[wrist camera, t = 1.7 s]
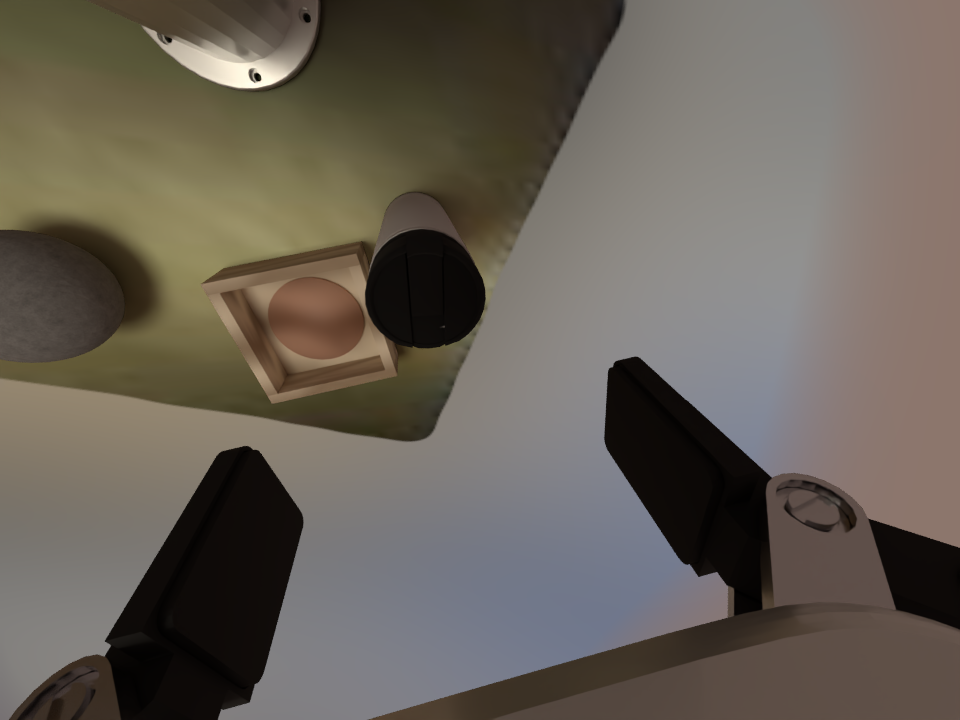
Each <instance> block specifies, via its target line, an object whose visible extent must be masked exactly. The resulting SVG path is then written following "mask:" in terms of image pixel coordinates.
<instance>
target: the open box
mask: <svg viewBox="0 0 960 720" xmlns="http://www.w3.org/2000/svg"><path fill="white" fill-rule="evenodd" d="M369 269H370V266H369V263H368V259H367V256H366V253H365V250H364V247H363V244H362V241H361V242H356V243H351V244H346V245H341V246H336V247H331V248H326V249H320V250H315V251H310V252H305V253H300V254H295V255H290V256H285V257H279V258H274V259H269V260H264V261H259V262H254V263H249V264H243V265H238V266H233V267H228V268H223V269H222V270H221V271H219V272H218V273H216V274H215V275H213V276H212V277H210V278H209V279H208V280H206V281H205V282H203V283H202V284H201V286H202V288H203V289H204V291H205V293H206V294H207V296H208V298H209V299H210V301H211V303H212V304H213V306H214V308H215V309H216V311H217V313H218V314H219V316H220V318H221V319H222V321H223V323H224V324H225V326H226V328H227V329H228V331H229V333H230V334H231V336H232V338H233V339H234V341H235V343H236V344H237V346H238V348H239V349H240V351H241V353H242V354H243V356H244V358H245V359H246V361H247V362H248V364H249V366H250V367H251V369H252V371H253V372H254V374H255V376H256V377H257V379H258V381H259V382H260V384H261V386H262V387H263V389H264V391H265V392H266V394H267V396H268V397H269V399H270V401H271V402H272V404H273V403H278V402H282V401H287V400H291V399H296V398H300V397H305V396H309V395H314V394H318V393H323V392H327V391H331V390H336V389H340V388H345V387H349V386H354V385H358V384H363V383H367V382H372V381H376V380H381V379H385V378H390V377H394V376H397V372H398V353H397V350H396V347H395V343H394V342H393V341H391V340H389V339H388V338H387V337H385V336H384V335H383V334H382V333H381V332H380V331H379V330H378V329H377V328H376V327H375V325H374V324H373V322H372V321H371V319H370V317H369V315H368V312H367V308H366V305H365V289H366V283H367V279H368V275H369Z"/></svg>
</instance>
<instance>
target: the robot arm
mask: <svg viewBox="0 0 960 720" xmlns="http://www.w3.org/2000/svg"><path fill="white" fill-rule="evenodd" d="M86 1H89V2H91V3H93V4H95V5H98V6H100V7H102V8H104V9H107V10H109V11H111V12H113V13H115V14H118V15H120V16H122V17H124V18H127V19H129V20H131V21H133V22H136V23H138V24H140V25H141V27H142V28H143V29H144V31H145V32H146V33H147V34H148V35H149V36H150V37H151V38H152V39H153V40H154V41H155V42H156V43H157V44H158V46H159V47H160V48H161V49H162V50H163V51H165V52H166V53H167V54H168V55H169V56H171V57H172V58H173V59H174V60H176V61H177V62H178V63H179V64H180V65H182V66H183V67H185V68H186V69H188V70H190V71H191V72H193V73H195V74H196V75H198V76H200V77H201V78H203V79H206V80H208V81H211V82H213V83H215V84H218V85H220V86H223V87H227V88H231V89H234V90H242V91H250V92H254V91H264V90H270V89H272V88H275V87H278V86H281V85H283V84H285V83H286V82H287V81H289V80H290V79H292V78H293V77H295V76H296V75H297V74H298V72H299V71H300V70H301V69H302V68H303V67H304V66H305V64H306V63H307V61H308V59H309V57H310V55H311V53H312V51H313V49H314V46H315V43H316V39H317V36H318V32H319V25H320V14H321V3H320V0H86ZM305 15H309V16H310V17H311V21H310V22H309V23H306V22H305V20H304V17H305ZM168 37H169V38H172V43H170V42H169V41H168ZM258 73H259V74H260V75H261V77H262V79H261V81H260V82H259V81H257V79H256V74H258ZM604 440H605V444H606V447H607V450H608V451H609V453H610V455H611V456H612V458H613V459H614V460H615V462H616V463H617V465H618V467H619V468H620V470H621V471H622V473H623V474H624V476H625V477H626V479H627V480H628V482H629V483H630V485H631V486H632V488H633V489H634V491H635V492H636V494H637V495H638V497H639V499H640V500H641V502H642V503H643V505H644V506H645V508H646V509H647V510H648V512H649V514H650V515H651V517H652V518H653V520H654V521H655V523H656V524H657V526H658V527H659V529H660V530H661V532H662V533H663V535H664V536H665V538H666V539H667V541H668V543H669V544H670V546H671V547H672V549H673V550H674V552H675V553H676V555H677V556H678V558H679V559H680V560H681V561H682V562H683V563H684V564H687V565H688V564H690V565H691V566H692V568H693V569H694V571H695V572H696V574H697V575H698V577H700V576H703V575H707V574H711V573H714V572H718V574H719V575H720V577H721V578H722V579H723V581H724V582H725V583H726V585H728V618H725V619H722V620H718V621H714V622H710V623H706V624H702V625H699V626H695V627H691V628H687V629H683V630H679V631H676V632H672V633H668V634H665V635H661V636H657V637H654V638H651V639H647V640H643V641H640V642H637V643H633V644H629V645H626V646H622V647H619V648H616V649H612V650H608V651H605V652H601V653H597V654H594V655H590V656H587V657H583V658H580V659H577V660H573V661H569V662H566V663H562V664H559V665H555V666H552V667H549V668H545V669H541V670H538V671H534V672H531V673H528V674H524V675H521V676H517V677H514V678H510V679H507V680H503V681H500V682H496V683H493V684H489V685H486V686H482V687H479V688H476V689H472V690H469V691H465V692H462V693H458V694H455V695H451V696H448V697H444V698H441V699H438V700H434V701H431V702H427V703H424V704H420V705H417V706H413V707H410V708H407V709H403V710H400V711H396V712H393V713H390V714H386V715H383V716H379V717H376V718H373V719H369V720H960V548H958V547H955V546H952V545H949V544H946V543H943V542H940V541H936V540H933V539H930V538H927V537H924V536H921V535H918V534H915V533H912V532H908V531H905V530H902V529H899V528H896V527H893V526H890V525H887V524H883V523H880V522H877V521H874V520H871V519H868V518H867V516H866V514H865V512H864V510H863V508H862V507H861V506H860V505H859V504H858V503H857V502H856V501H855V500H854V499H853V498H852V497H851V496H849V495H848V494H847V493H845V492H844V491H842V490H841V489H840V488H838V487H836V486H834V485H832V484H830V483H828V482H826V481H824V480H821V479H818V478H815V477H812V476H809V475H803V474H796V473H789V474H781V475H778V476H775V477H773V478H772V477H770V476H769V475H768V474H767V473H766V472H765V471H764V470H763V469H762V468H761V467H759V466H758V465H757V464H756V463H755V462H754V461H753V460H752V459H750V458H749V456H747V455H746V454H745V453H744V452H743V451H742V450H741V449H740V448H739V447H738V446H736V445H735V444H734V443H733V442H732V441H731V440H730V439H729V438H728V437H727V436H725V435H724V434H723V433H722V432H721V431H720V430H719V429H718V428H717V427H716V426H715V425H713V424H712V423H711V422H710V421H709V420H708V419H707V418H706V417H705V416H704V415H702V414H701V413H700V412H699V411H698V410H697V409H696V408H695V407H693V406H692V404H690V403H689V402H688V401H687V400H685V399H684V398H683V397H682V396H681V395H680V394H678V393H677V392H676V391H675V390H674V389H673V388H672V387H671V386H670V385H669V384H668V383H667V382H666V381H664V380H663V379H662V378H661V377H660V376H659V375H658V374H657V373H656V372H655V371H654V370H652V369H651V368H650V367H649V366H648V365H647V364H646V363H645V362H644V361H643V360H641V359H640V358H639V357H631V358H627V359H623V360H618V361H616V362H615V363H614V365H613V367H612V368H609V370H608V382H607V401H606V418H605V437H604ZM302 528H303V516H302V513H301V511H300V510H299V508H298V507H297V505H296V504H295V503H294V501H293V499H292V498H291V497H290V495H289V494H288V492H287V491H286V489H285V488H284V486H283V485H282V484H281V482H280V481H279V479H278V478H277V476H276V475H275V473H274V472H273V470H272V469H271V468H270V466H269V465H268V463H267V462H266V460H265V459H264V457H263V456H262V454H261V453H260V452H259V451H258V450H253V449H252V448H250V447H249V446H243V447H239V448H234V449H231V450H226V451H222V452H220V453H219V454H218V455H217V456H216V458H215V460H214V461H213V463H212V465H211V466H210V468H209V470H208V472H207V473H206V475H205V476H204V478H203V480H202V481H201V483H200V485H199V486H198V488H197V490H196V491H195V493H194V495H193V496H192V498H191V499H190V501H189V503H188V504H187V506H186V508H185V509H184V511H183V513H182V514H181V516H180V518H179V519H178V521H177V523H176V524H175V526H174V528H173V530H172V531H171V533H170V534H169V536H168V538H167V539H166V541H165V542H164V544H163V546H162V547H161V549H160V551H159V553H158V554H157V556H156V557H155V559H154V561H153V562H152V564H151V565H150V567H149V569H148V570H147V573H146V574H145V575H144V577H143V579H142V580H141V582H140V584H139V585H138V587H137V589H136V590H135V592H134V594H133V595H132V597H131V599H130V600H129V602H128V603H127V605H126V607H125V608H124V610H123V612H122V613H121V615H120V617H119V619H118V620H117V622H116V623H115V625H114V627H113V628H112V630H111V632H110V633H109V635H108V637H107V638H106V640H105V642H107V643H109V644H110V645H111V647H110V648H109V650H108V652H107V653H106V655H105V657H104V656H101V655H92V656H86V657H83V658H81V659H79V660H77V661H75V662H72V663H70V664H68V665H67V666H65V667H64V668H62V669H61V670H59V671H58V672H56V673H55V674H53V675H52V676H51V677H49V679H47V680H46V681H45V682H44V683H42V684H41V685H40V686H39V687H38V688H37V689H36V690H34V691H33V692H32V693H31V695H29V697H28V698H27V699H26V700H25V701H24V702H23V703H22V704H21V705H20V706H19V707H18V708H17V710H16V711H15V712H14V713H13V715H12V716H11V718H10V719H9V720H218V717H219V714H220V711H221V709H223V710H224V709H228V708H232V707H235V706H238V705H242V704H246V703H249V702H250V700H251V696H252V692H253V689H254V685H255V684H256V683H258V682H259V681H260V679H261V677H262V675H263V673H264V670H265V666H266V663H267V659H268V655H269V651H270V647H271V644H272V640H273V636H274V633H275V629H276V625H277V622H278V618H279V614H280V610H281V607H282V603H283V599H284V596H285V592H286V588H287V584H288V581H289V576H290V573H291V569H292V566H293V562H294V558H295V554H296V551H297V547H298V543H299V539H300V536H301V532H302Z"/></svg>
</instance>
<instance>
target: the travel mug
mask: <svg viewBox="0 0 960 720" xmlns="http://www.w3.org/2000/svg"><path fill="white" fill-rule="evenodd" d="M485 300H486V298H485V287H484V283H483V279H482V277H481V275H480V273H479V271H478V269H477V267H476V266H475V263H474V261H473V259H472V257H471V255H470V253H469V251H468V250H467V248H466V246H465V245H464V243H463V241H462V239H461V238H460V236H459V234H458V233H457V231H456V229H455V227H454V226H453V224H452V222H451V221H450V219H449V217H448V215H447V214H446V212H445V210H444V209H443V207H442V206H441V205H440V203H439V202H437V201H436V200H435V199H434V198H432V197H431V196H429V195H427V194H424V193H419V192H409V193H405V194H402V195H400V196H399V197H397V198H395V199H394V200H393V201H392V202H391V203H390V205H389V206H388V208H387V210H386V212H385V215H384V219H383V222H382V226H381V229H380V233H379V236H378V240H377V243H376V247H375V250H374V254H373V257H372V261H371V264H370V269H369V275H368V279H367V283H366V289H365V305H366V308H367V312H368V315H369V317H370V319H371V321H372V322H373V324H374V325H375V327H376V328H377V329H378V330H379V331H380V332H381V333H382V334H383V335H384V336H385V337H387V338H388V339H389V340H391V341H393V342H395V343H396V344H399V345H403V346H407V347H412V348H413V346H414V347H417V348H435V347H440V346H442V345H444V344H445V346H446V345H449V344H452V343H454V342H457V341H460V340H461V339H462V338H464V337H465V336H466V335H468V334H469V333H470V332H471V331H472V329H473V328H474V327H475V326H476V324H477V323H478V321H479V320H480V318H481V315H482V313H483V310H484V305H485Z"/></svg>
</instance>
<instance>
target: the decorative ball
mask: <svg viewBox="0 0 960 720" xmlns="http://www.w3.org/2000/svg"><path fill="white" fill-rule="evenodd" d="M124 310H125V301H124V295H123V291H122V289H121V287H120V285H119V283H118V281H117V279H116V278H115V276H114V275H113V274H112V272H111V271H110V270H109V269H108V268H107V267H106V266H105V265H104V264H103V263H102V262H101V261H99V260H98V259H97V258H96V257H94V256H93V255H92V254H90V253H89V252H87V251H85V250H83V249H82V248H80V247H78V246H75V245H73V244H71V243H69V242H66V241H64V240H62V239H58V238H55V237H52V236H48V235H44V234H40V233H35V232H29V231H19V230H0V359H2V360H7V361H15V362H30V363H35V362H51V361H58V360H64V359H68V358H72V357H76V356H79V355H81V354H84V353H86V352H89V351H91V350H93V349H95V348H96V347H98V346H100V345H101V344H103V343H104V342H105V341H106V340H108V339H109V338H110V337H111V336H112V335H113V334H114V333H115V331H116V330H117V328H118V327H119V325H120V323H121V321H122V318H123V316H124Z"/></svg>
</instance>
